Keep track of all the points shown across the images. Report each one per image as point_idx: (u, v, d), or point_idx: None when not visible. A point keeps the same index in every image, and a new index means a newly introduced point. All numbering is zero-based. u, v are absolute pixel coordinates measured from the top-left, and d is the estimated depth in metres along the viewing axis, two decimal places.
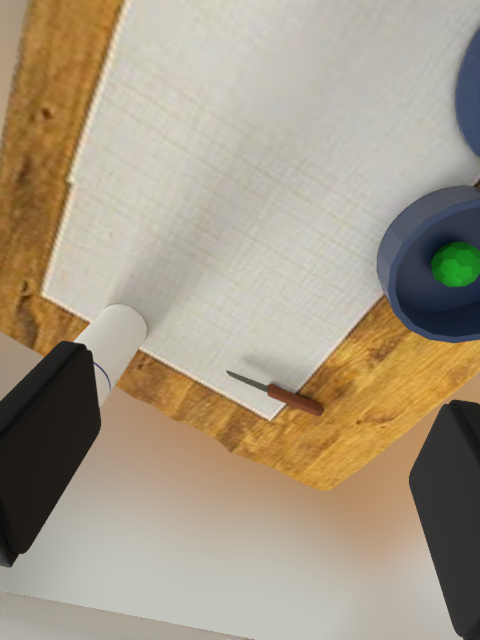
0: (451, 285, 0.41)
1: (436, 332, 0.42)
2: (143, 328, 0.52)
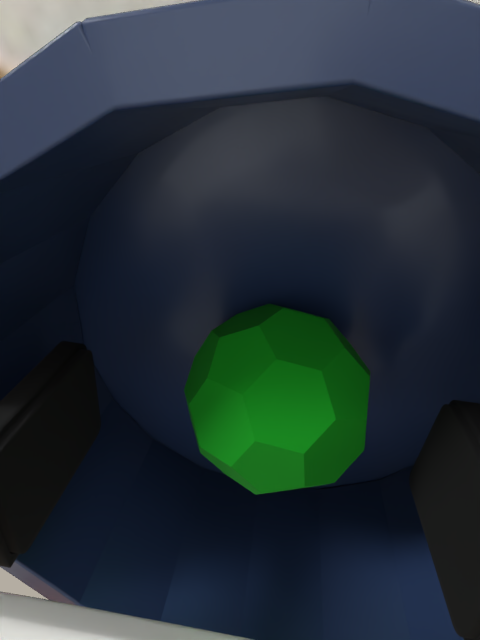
0: (194, 414, 0.09)
1: None
2: None
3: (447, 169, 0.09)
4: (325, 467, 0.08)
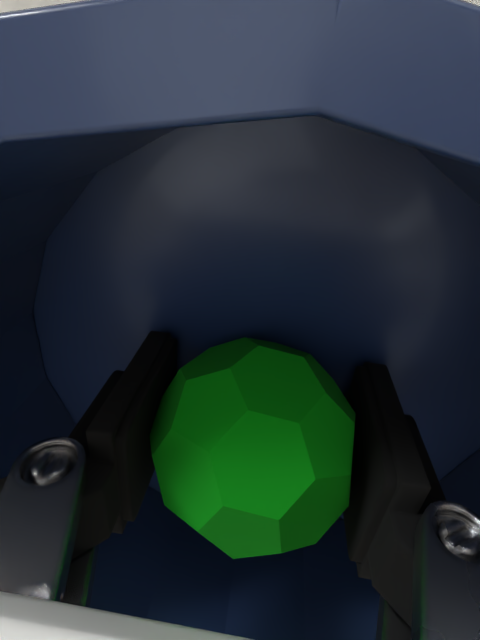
0: (157, 468, 0.08)
1: None
2: None
3: (437, 193, 0.08)
4: (304, 530, 0.07)
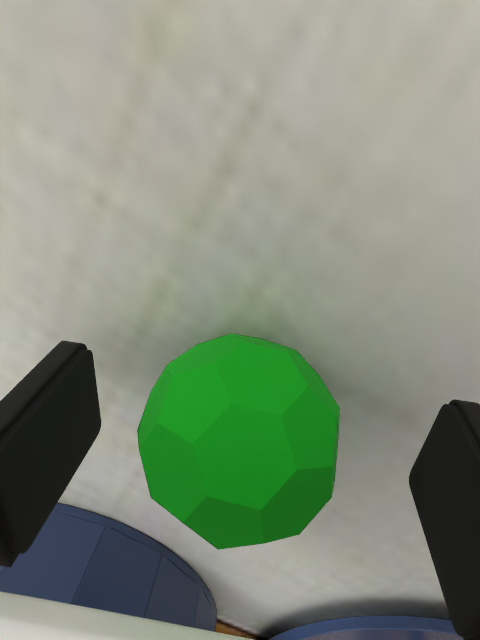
0: (144, 461, 0.08)
1: None
2: None
3: None
4: (287, 520, 0.08)
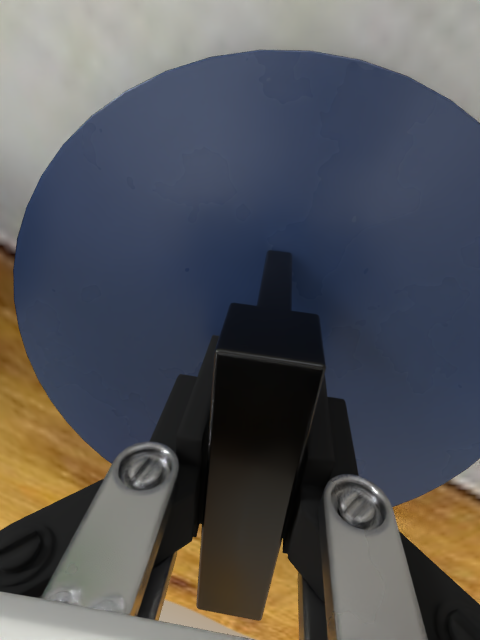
0: None
1: None
2: None
3: None
4: None
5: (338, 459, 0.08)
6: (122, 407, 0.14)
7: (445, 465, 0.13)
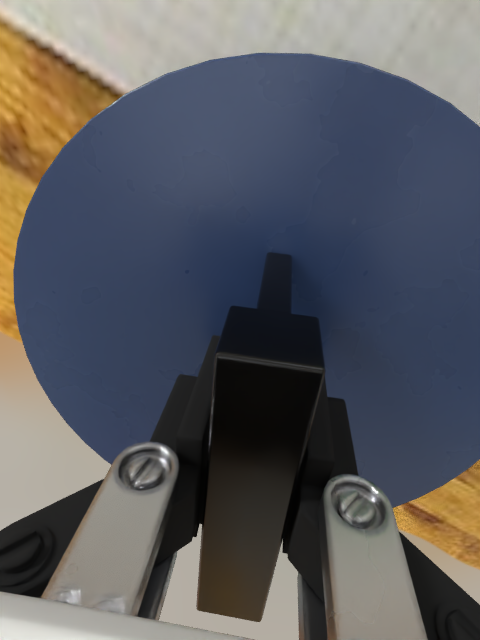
0: None
1: None
2: None
3: None
4: None
5: (338, 459, 0.08)
6: (122, 408, 0.14)
7: (445, 466, 0.13)
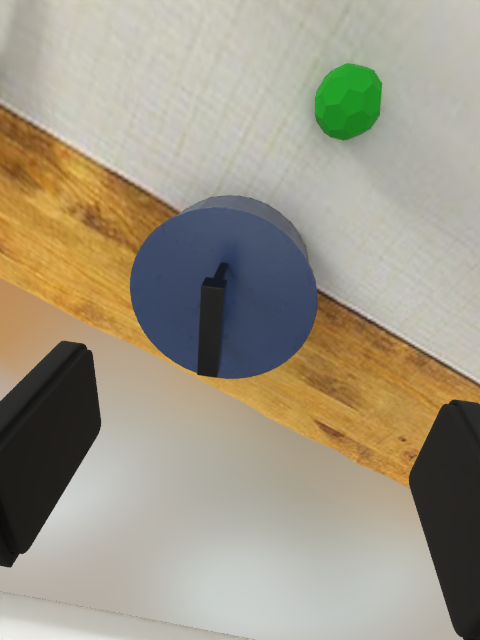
0: (324, 95, 0.27)
1: None
2: None
3: None
4: (368, 105, 0.27)
5: None
6: (167, 323, 0.35)
7: (293, 344, 0.34)
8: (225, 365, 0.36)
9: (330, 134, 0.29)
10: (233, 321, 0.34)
